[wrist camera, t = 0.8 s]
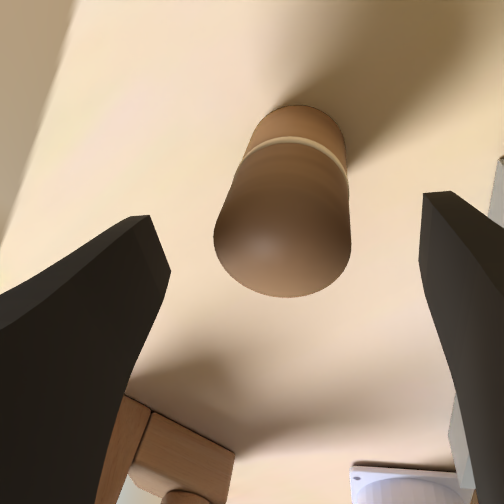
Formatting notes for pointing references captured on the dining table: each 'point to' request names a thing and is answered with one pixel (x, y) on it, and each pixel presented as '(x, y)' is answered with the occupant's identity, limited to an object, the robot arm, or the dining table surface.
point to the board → (500, 212)
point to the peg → (288, 207)
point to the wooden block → (163, 460)
